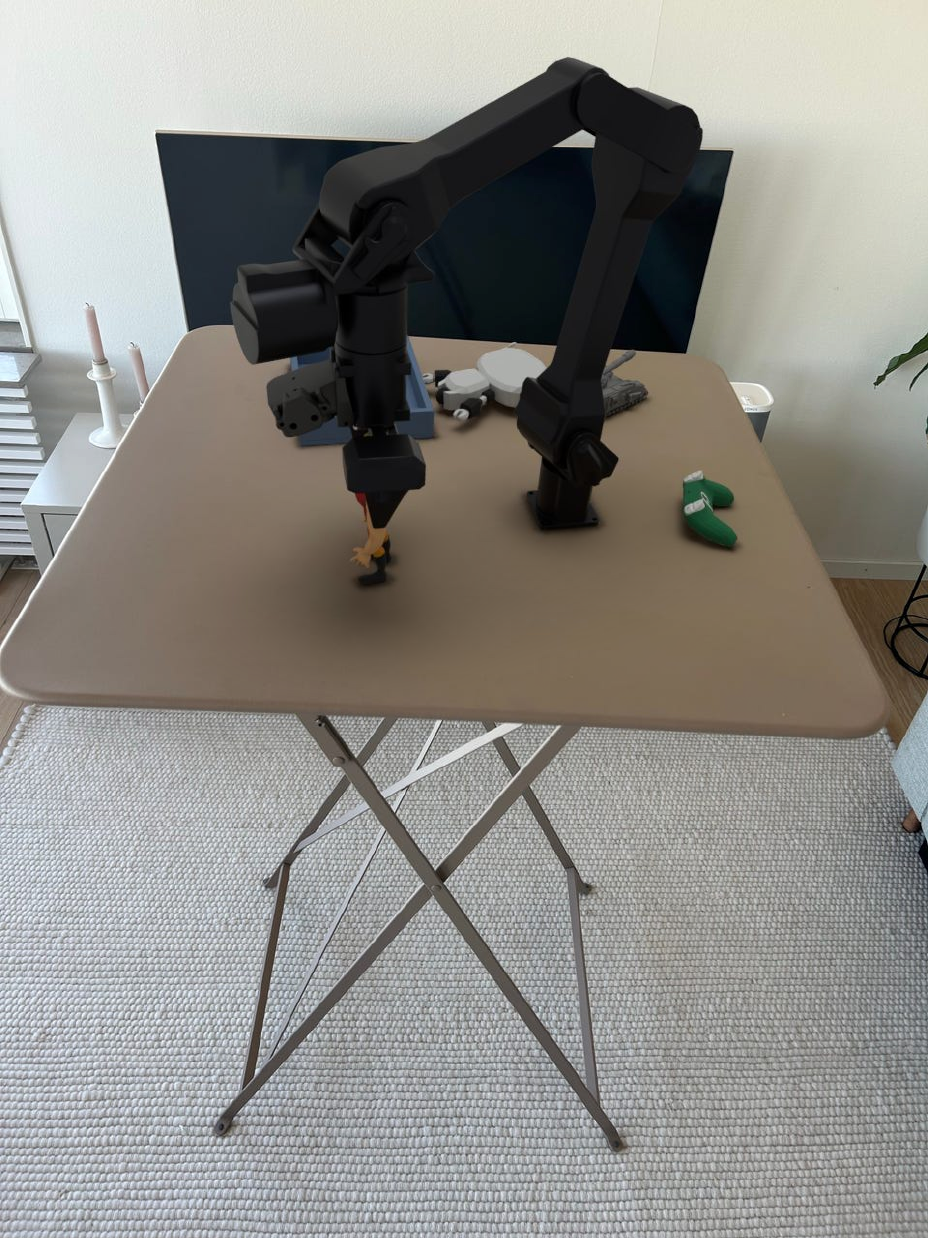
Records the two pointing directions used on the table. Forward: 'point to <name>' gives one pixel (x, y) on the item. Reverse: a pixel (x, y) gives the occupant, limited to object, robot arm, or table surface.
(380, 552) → the action figure
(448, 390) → the robot toy
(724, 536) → the green christmas stockings
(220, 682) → the table surface
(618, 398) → the tank toy
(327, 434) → the storage bin
